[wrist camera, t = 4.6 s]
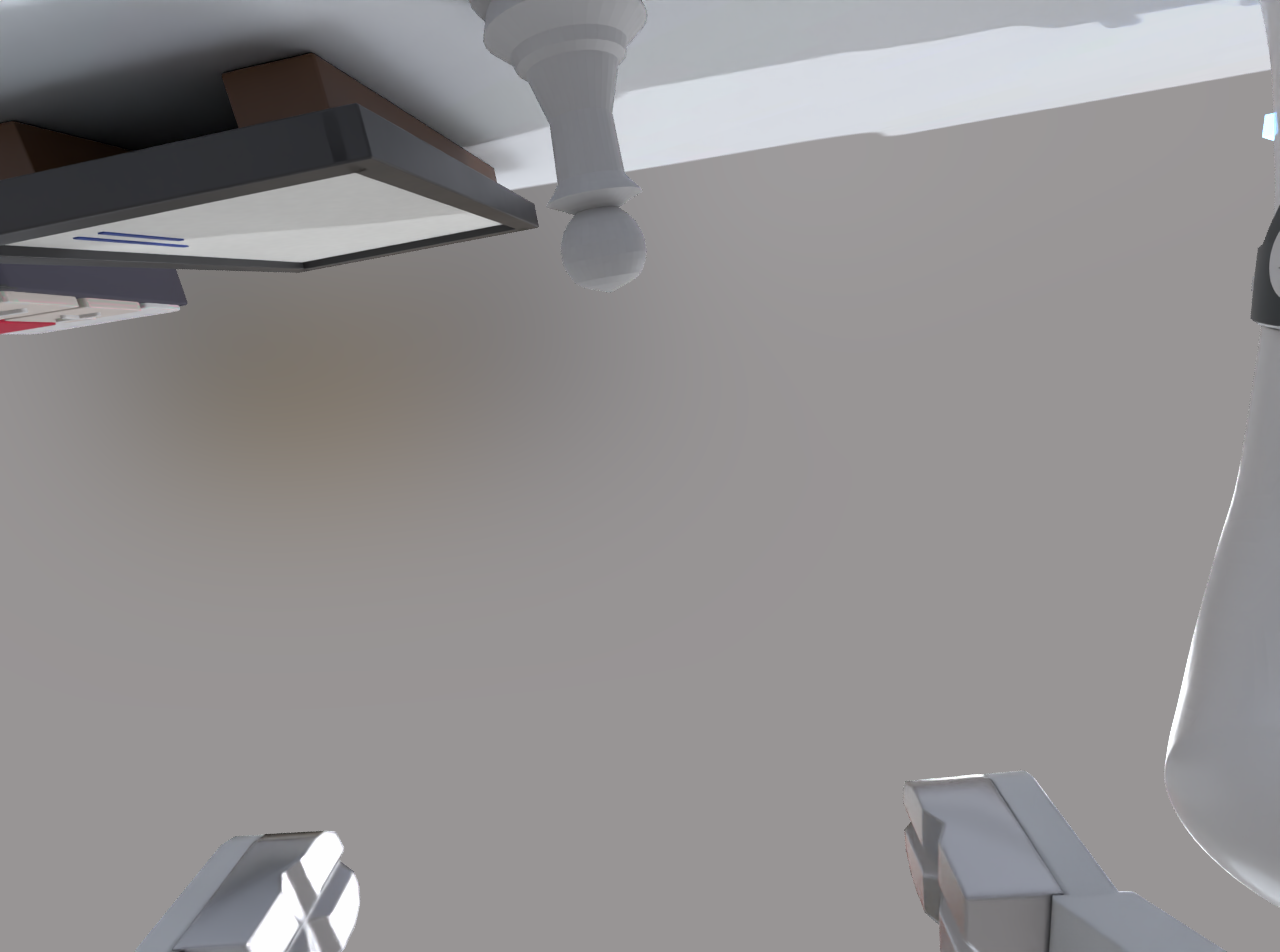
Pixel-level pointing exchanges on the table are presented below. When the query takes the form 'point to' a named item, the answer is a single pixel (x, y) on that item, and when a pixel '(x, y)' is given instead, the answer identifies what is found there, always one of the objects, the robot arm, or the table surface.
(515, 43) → the chess piece
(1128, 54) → the table surface
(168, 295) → the calculator
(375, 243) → the whiteboard
